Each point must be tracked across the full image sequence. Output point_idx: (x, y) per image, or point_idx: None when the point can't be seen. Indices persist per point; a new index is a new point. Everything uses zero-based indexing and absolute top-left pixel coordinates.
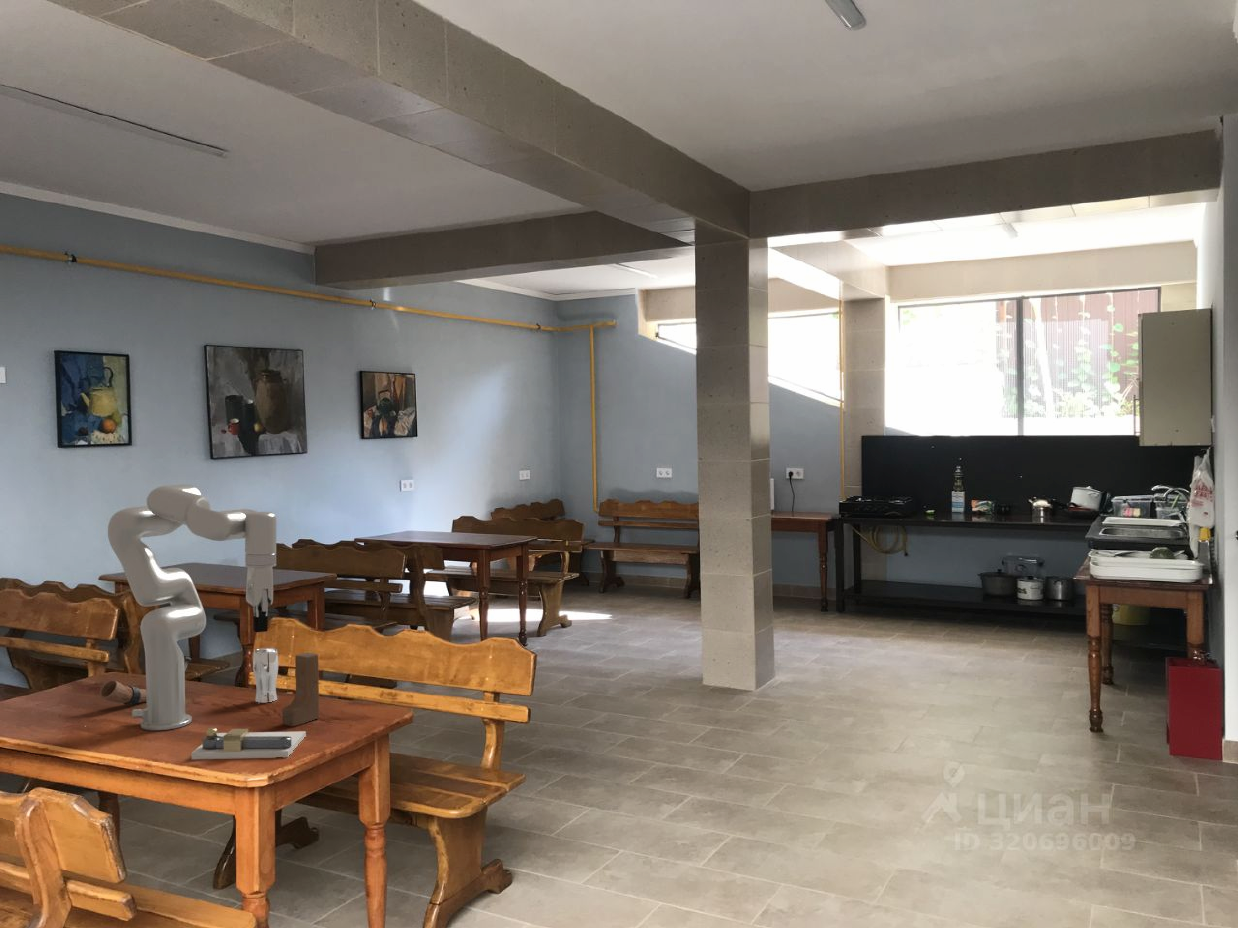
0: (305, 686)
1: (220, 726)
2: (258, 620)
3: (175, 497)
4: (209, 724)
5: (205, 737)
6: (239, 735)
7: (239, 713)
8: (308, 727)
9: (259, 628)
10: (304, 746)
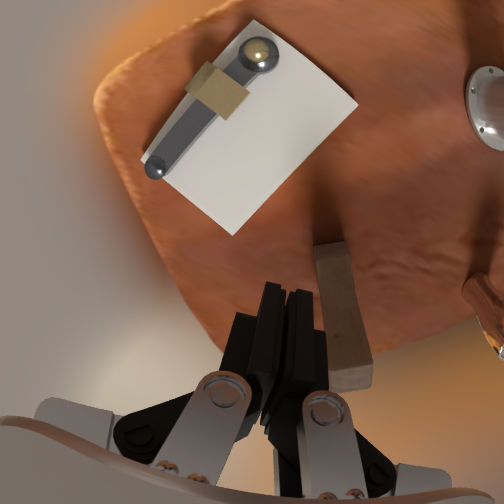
0: (325, 317)
1: (424, 156)
2: (224, 356)
3: None
4: (448, 150)
5: (275, 46)
6: (189, 88)
7: (462, 223)
8: (288, 262)
9: (236, 314)
10: (183, 204)
